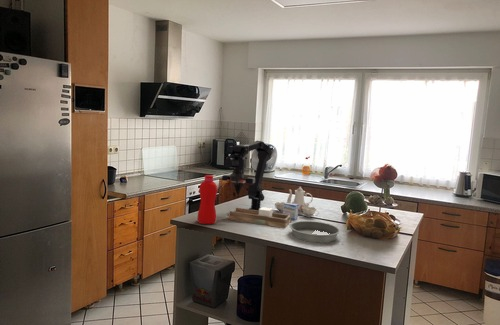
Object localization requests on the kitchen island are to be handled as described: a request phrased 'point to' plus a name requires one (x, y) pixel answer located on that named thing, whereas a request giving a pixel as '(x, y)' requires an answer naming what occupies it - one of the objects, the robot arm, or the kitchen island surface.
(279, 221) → the light wood shallow tray
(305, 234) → the cake pan
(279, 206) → the chinaware
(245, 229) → the kitchen island surface
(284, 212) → the medicine box
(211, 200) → the water bottle
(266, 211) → the cream block
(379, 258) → the kitchen island surface
